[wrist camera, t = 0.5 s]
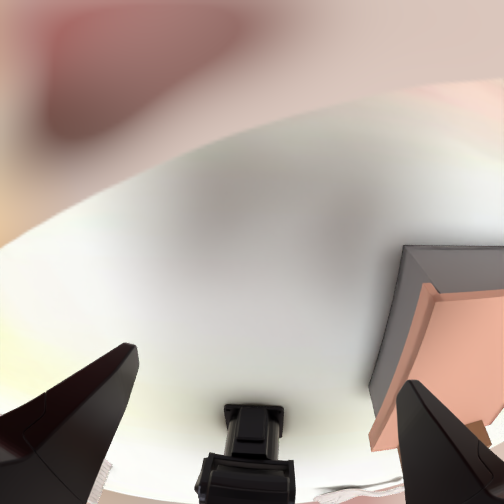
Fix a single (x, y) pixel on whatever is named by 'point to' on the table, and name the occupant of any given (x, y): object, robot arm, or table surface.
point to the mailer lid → (451, 361)
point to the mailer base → (444, 281)
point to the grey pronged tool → (352, 495)
